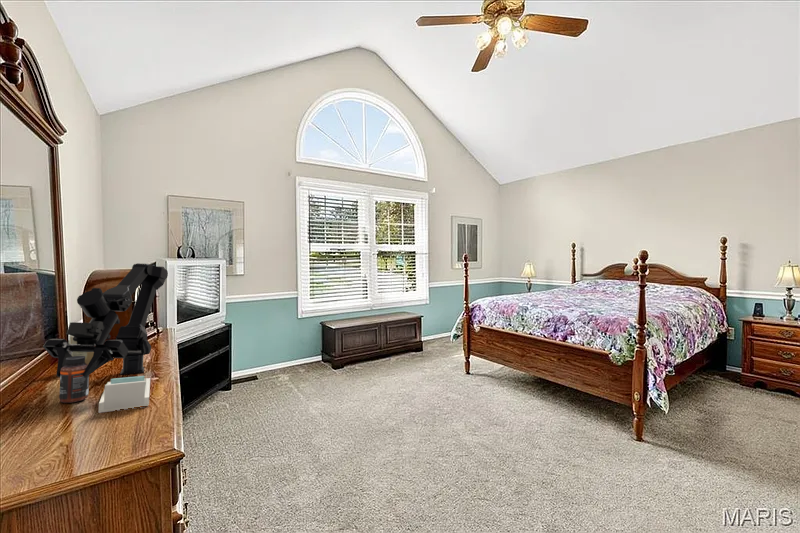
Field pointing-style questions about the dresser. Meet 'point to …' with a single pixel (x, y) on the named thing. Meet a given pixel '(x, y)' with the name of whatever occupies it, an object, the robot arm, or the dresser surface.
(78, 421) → the dresser surface
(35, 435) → the dresser surface
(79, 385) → the supplement bottle
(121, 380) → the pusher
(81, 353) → the skincare box
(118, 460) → the dresser surface
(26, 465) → the dresser surface
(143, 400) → the lane
